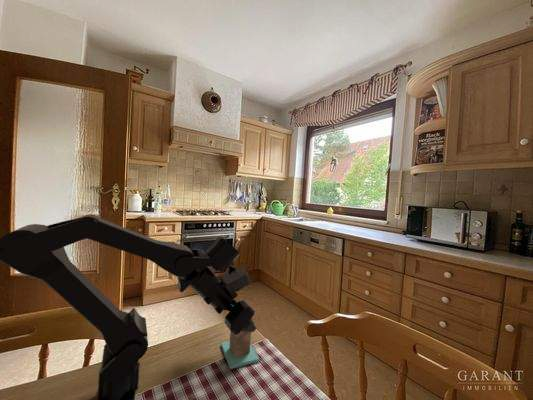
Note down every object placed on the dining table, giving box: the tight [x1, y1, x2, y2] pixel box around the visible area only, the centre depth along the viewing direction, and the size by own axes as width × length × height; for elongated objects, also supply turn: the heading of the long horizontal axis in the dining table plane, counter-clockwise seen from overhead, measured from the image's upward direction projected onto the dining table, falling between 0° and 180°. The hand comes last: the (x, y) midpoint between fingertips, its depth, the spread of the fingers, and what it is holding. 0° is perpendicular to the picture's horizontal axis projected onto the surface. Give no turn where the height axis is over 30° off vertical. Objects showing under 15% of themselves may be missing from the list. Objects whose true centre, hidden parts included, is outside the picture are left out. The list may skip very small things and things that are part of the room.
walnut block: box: [229, 317, 253, 357], centre depth 61 cm, size 4×4×10 cm
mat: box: [220, 340, 260, 370], centre depth 62 cm, size 8×9×1 cm
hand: (246, 320), depth 62 cm, fingers open, 9 cm apart
